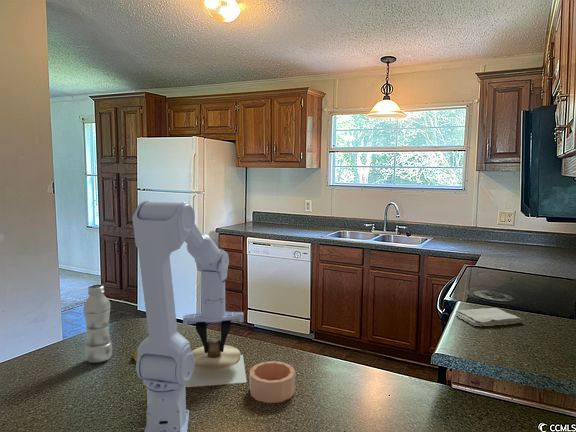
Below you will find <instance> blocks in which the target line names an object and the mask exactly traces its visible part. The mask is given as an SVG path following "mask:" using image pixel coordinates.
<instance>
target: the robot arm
mask: <svg viewBox="0 0 576 432" xmlns="http://www.w3.org/2000/svg"><path fill="white" fill-rule="evenodd" d="M195 214H196V213H195V210H194V209H193V207H192V205H191V204H190V203H189V202H187V201H183V202H182V201H181V202H168V201H167V202H163V201H160V202H159V201H156V202H155V201H148V200H143V201H141V202H140V203H139V204H138V205H137V207H136V209H135V211H134V213H133V215H132V227H133V234H134V243H135V247H136V248H137V250H138V258H139V259H138V260H139V269H140V274H141V275H140V276H141V283H142V284H141V285H142V291H143V299H144V307H145V308H144V310H145V315H146V324H147V332H148V336H147V337H146V338H144V339H143V340H142V341H141V342H140V344H139V345H138V346H137V349H136V350H137V353H138V355H137V361H135V370H136V375H137V377H138V379H141V380H142V381H143V382H142V385H143V386H146V395H147V396H146V399H147V400H146V401H147V402H146V403H147V405H146V406H147V407H146V423H145V424H146V425H145V428H144V430H143V432H188V427H189V418H190V410H189V409H187V400H186V399H187V398H186V397H187V396H186V395H187V394H186V387H185V384H186V383H187V382H188V381H189V380H190V378H191V376H192V374H193V371H194V365H195V359H194V356H193V353H192V351H193V350H192V349H191V344H190V343H191V342H190V341H189V340H188V339H187V338H186V337H184V335H182V334H181V333H179V332H178V324H177V323H178V322H177V315H176V314H177V313H176V307H175V306H176V305H175V298H174V297H175V296H174V295H175V294H174V285H173V277H172V276H173V275H172V266H171V258H170V257H171V255H172V253H173V252H176V251H177V250H179V249H181V247H182V246H183V244H184V243H186V250H187V252H188V253H189V255H190V256H191V257H192V258H193V259H194V262H195V266H196V270H197V271H199V272H200V278H201V279H200V280H201V281H200V282H201V283H200V284H201V285H200V287H201V292H200V293H201V312H197V313H191V314H183V316H182V324H183V325H182V326H188V325H195V330H196V333H197V334H198V336H199V337H200V340H201V344H202V346H204V351H205V353H208V347H207V342H208V335H207V334H208V333H207V330H208V329H207V328H208V327H207V325H208V324H215V323H217V324H218V323H220V342H221V346H220V349H221V352H223V350H224V345H226V340H227V337H228V335H229V333H230V331H231V328H232V322H235V323H237V322H239V323H244V311H226V279H227V277H228V269H229V268H228V267H229V265H230V262H229V261H230V258H229V253H228V252H227V251H225V249H222V248H221V249H220V248H219V247H218V246H217V244H216V243H215V242H214V240H213V239H212V238H211V237H210V236H209V234H208V233H207V232H201V231H200V229H199V228H198V227H197V224H196V223H195V219H196V216H195Z"/></svg>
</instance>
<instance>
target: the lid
mask: <svg viewBox="0 0 576 432" xmlns="http://www.w3.org/2000/svg"><path fill="white" fill-rule="evenodd" d="M220 346H221V339H217V338H212V339H209V340H207V347H208V353H205V351H204V346H203V345H202V346H199V347H197V348H194V349H193V350H191V351H192V353H193V356H194V359H195V365H194V368H195V369H199V370H205V371H215V370H222V369H226V368H229V367H231V366H233V365H235V364H236V363H238V362H239V360H240V355H241V351H240V349H238V348H237V347H234V346H232V345H229V344H228V345H227V344H224V350H223V352H221V349H220Z"/></svg>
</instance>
